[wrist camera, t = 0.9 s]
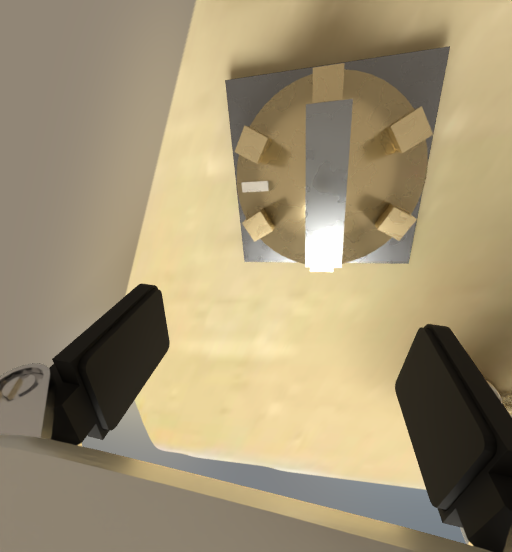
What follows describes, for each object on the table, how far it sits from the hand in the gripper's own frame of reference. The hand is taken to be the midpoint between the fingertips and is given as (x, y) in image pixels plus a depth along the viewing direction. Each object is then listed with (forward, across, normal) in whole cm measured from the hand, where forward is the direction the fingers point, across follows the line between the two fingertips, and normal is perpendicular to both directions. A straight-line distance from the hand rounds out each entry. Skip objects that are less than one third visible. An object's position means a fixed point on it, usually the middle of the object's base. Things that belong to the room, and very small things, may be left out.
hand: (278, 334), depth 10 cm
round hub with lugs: (+23, -2, -2) cm, 24 cm away
